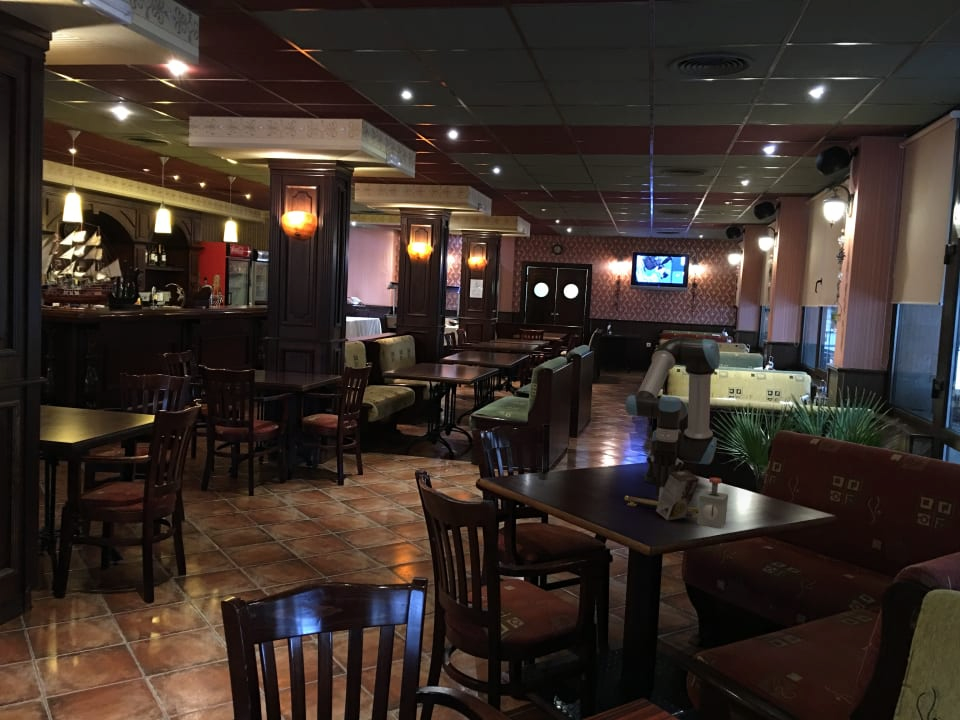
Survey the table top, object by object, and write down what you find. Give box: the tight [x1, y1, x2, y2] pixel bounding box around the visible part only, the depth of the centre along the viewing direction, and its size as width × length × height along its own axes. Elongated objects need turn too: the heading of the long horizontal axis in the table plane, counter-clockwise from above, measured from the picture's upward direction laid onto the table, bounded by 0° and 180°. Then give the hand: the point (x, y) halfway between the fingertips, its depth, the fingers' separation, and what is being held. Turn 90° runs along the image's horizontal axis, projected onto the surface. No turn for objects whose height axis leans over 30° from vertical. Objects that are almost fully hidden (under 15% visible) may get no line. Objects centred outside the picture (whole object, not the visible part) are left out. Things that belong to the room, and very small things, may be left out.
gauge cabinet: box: [697, 490, 729, 529], centre depth 264 cm, size 11×8×10 cm
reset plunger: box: [709, 477, 722, 494], centre depth 264 cm, size 4×4×5 cm
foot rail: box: [624, 495, 699, 518], centre depth 278 cm, size 30×2×3 cm, turn 63°
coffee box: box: [655, 469, 699, 521], centre depth 266 cm, size 9×6×16 cm
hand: (661, 504), depth 272 cm, fingers closed
